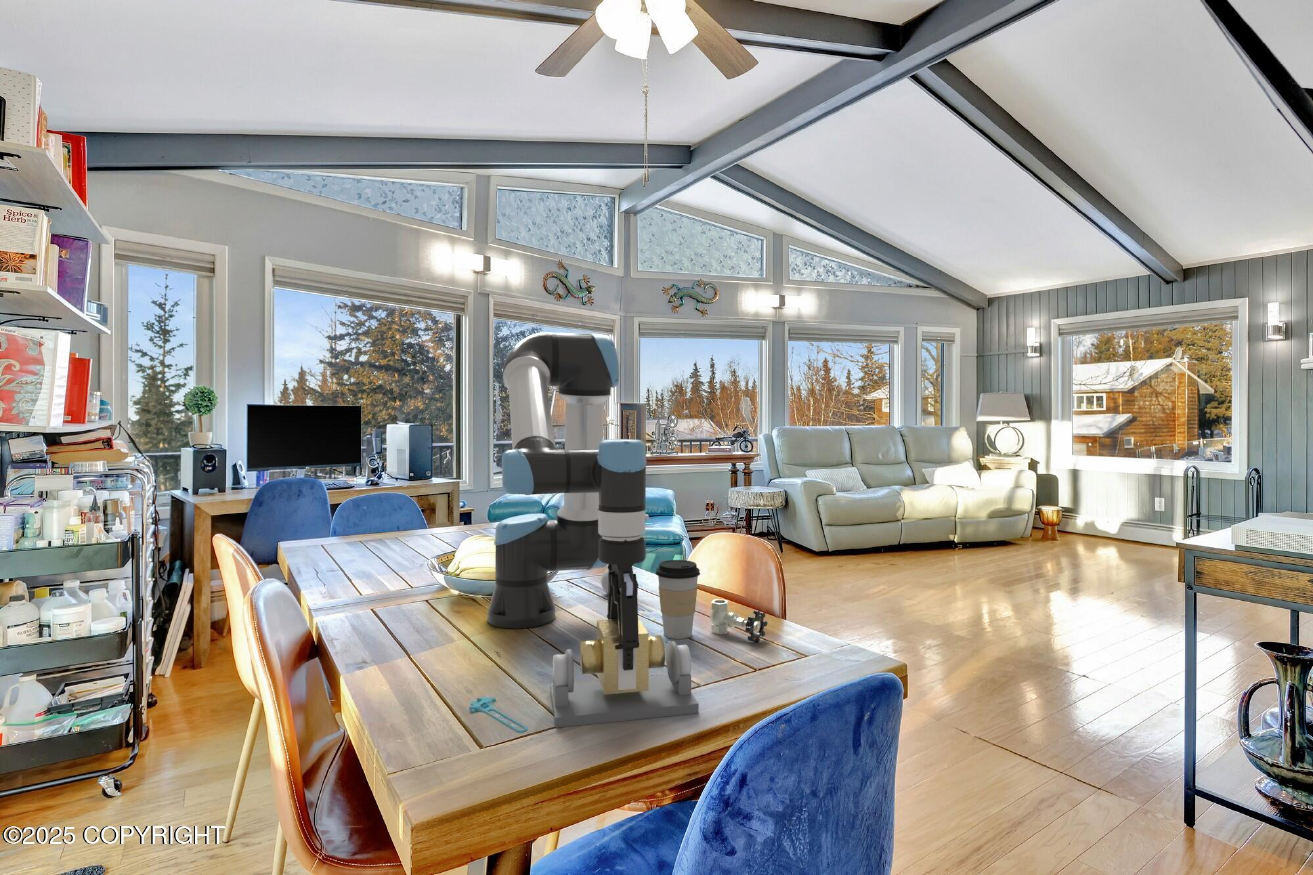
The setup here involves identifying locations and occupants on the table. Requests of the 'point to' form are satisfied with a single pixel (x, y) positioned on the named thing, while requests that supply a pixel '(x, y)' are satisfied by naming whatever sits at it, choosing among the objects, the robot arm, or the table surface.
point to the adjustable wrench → (486, 706)
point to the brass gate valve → (605, 658)
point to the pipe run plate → (594, 707)
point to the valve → (736, 621)
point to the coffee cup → (677, 596)
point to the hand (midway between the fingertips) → (622, 677)
